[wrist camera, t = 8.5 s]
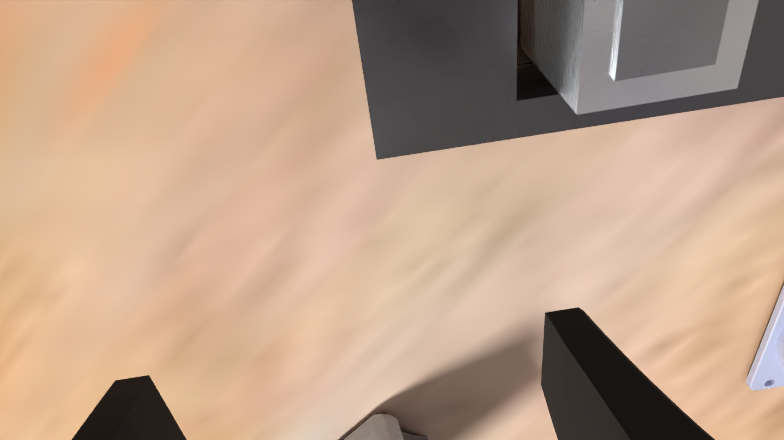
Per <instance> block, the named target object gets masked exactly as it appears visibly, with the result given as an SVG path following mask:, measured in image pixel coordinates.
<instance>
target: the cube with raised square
mask: <svg viewBox="0 0 784 440" xmlns="http://www.w3.org/2000/svg"><path fill="white" fill-rule="evenodd" d="M758 1H759V0H521V27H520V47H521V48H522V49H523V51H524V52H525V53H526V54H527V55H528V57H529V58H530V59H531V60H532V61H533V63H534V64H535V65H536V66H537V67H538V69H539V70H540V71H541V72H542V73H543V75H544V76H545V77H546V78H547V79H548V81H549V82H550V83H551V84H552V85H553V87H554V88H555V89H556V90H557V91H558V93H559V94H560V95H561V96H562V97H563V99H564V100H565V101H566V102H567V103H568V105H569V106H570V107H571V108H572V109H573V111H574V112H575V113H576V114H577V115H579V114H585V113H591V112H597V111H603V110H609V109H615V108H621V107H627V106H633V105H639V104H646V103H652V102H658V101H664V100H670V99H676V98H682V97H688V96H694V95H700V94H706V93H712V92H718V91H724V90H730V89H736V88H737V87H738V83H739V79H740V75H741V71H742V67H743V63H744V59H745V55H746V51H747V46H748V42H749V38H750V34H751V30H752V26H753V22H754V18H755V14H756V10H757V5H758Z"/></svg>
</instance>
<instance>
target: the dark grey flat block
mask: <svg viewBox="0 0 784 440" xmlns="http://www.w3.org/2000/svg"><path fill="white" fill-rule="evenodd" d="M352 3H353V10H354V16H355V22H356V29H357V35H358V42H359V48H360V54H361V61H362V67H363V74H364V80H365V87H366V93H367V99H368V106H369V112H370V119H371V125H372V131H373V138H374V144H375V151H376V157H377V160H378V159H384V158H391V157H397V156H403V155H410V154H416V153H423V152H429V151H436V150H442V149H449V148H455V147H462V146H468V145H475V144H481V143H488V142H494V141H500V140H507V139H513V138H520V137H526V136H533V135H539V134H546V133H552V132H559V131H565V130H572V129H578V128H584V127H591V126H597V125H604V124H610V123H617V122H623V121H630V120H636V119H643V118H649V117H656V116H662V115H668V114H675V113H681V112H688V111H694V110H701V109H707V108H714V107H720V106H727V105H733V104H740V103H746V102H753V101H759V100H765V99H772V98H778V97H784V0H759V1H758V5H757V10H756V14H755V18H754V22H753V26H752V30H751V34H750V38H749V42H748V46H747V51H746V55H745V59H744V63H743V67H742V71H741V75H740V79H739V83H738V87H737V88H736V89H730V90H724V91H718V92H712V93H706V94H700V95H694V96H688V97H682V98H676V99H670V100H664V101H658V102H652V103H646V104H639V105H633V106H627V107H621V108H615V109H609V110H603V111H597V112H591V113H585V114H579V115H577V114H576V113H575V112H574V111H573V109H572V108H571V107H570V106H569V105H568V103H567V102H566V101H565V100H564V99H563V97H562V96H561V95H560V94H559V93H558V91H557V90H556V89H555V88H554V87H553V85H552V84H551V83H550V82H549V81H548V79H547V78H546V77H545V76H544V75H543V73H542V72H541V71H540V70H539V69H538V67H537V66H536V65H535V64H534V63H530V64H524V65H517V8H518V0H352Z"/></svg>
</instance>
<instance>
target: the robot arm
mask: <svg viewBox="0 0 784 440" xmlns="http://www.w3.org/2000/svg"><path fill="white" fill-rule="evenodd" d="M746 384H747V385H748V386H749V388H750V389H752V390H761V389H768V388H774V387H780V386H784V286H783V288H782V291H781V293H780V296H779V298H778V301H777V303H776V306H775V308H774V311H773V314H772V316H771V319H770V321H769V324H768V326H767V329H766V331H765V334H764V336H763V339H762V341H761V344H760V347H759V349H758V352H757V354H756V357H755V359H754V362H753V364H752V367H751V369H750V372H749V375H748V377H747V380H746ZM541 386H542V389H543V392H544V396H545V399H546V403H547V406H548V409H549V413H550V416H551V419H552V422H553V425H554V429H555V432H556V435H557V438H558V440H715V439H713V438H712V437H711V436H710V435H709V434H708V433H707V432H705V431H704V430H703V429H702V428H701V427H700V426H699V425H697V424H696V423H695V422H694V421H693V420H692V419H691V418H690V417H689V416H688V415H686V414H685V413H684V412H683V411H682V410H681V409H680V408H679V407H678V406H677V405H676V404H675V403H674V402H672V401H671V400H670V399H669V398H668V397H667V396H666V395H665V394H664V393H663V392H662V391H661V390H660V389H659V388H658V387H657V386H656V385H655V384H654V383H652V382H651V381H650V380H649V379H648V378H647V377H646V376H645V375H644V374H643V373H642V372H641V371H640V370H639V369H638V368H637V367H636V366H635V365H634V364H633V363H632V362H631V361H630V360H629V359H628V358H627V357H626V356H625V355H624V354H623V353H622V351H621V350H620V349H619V348H618V347H617V346H616V345H615V344H614V343H613V342H612V341H611V340H610V339H609V338H608V337H607V336H606V335H605V334H604V333H603V331H602V330H601V329H600V328H599V327H598V326H597V325H596V324H595V323H594V322H593V321H592V320H591V318H590V317H589V316H588V315H587V314H586V313H585V312H584V311H583V310H581V309H580V308H579V307H578V308H572V309H566V310H559V311H553V312H547V313H545V325H544V342H543V360H542V377H541ZM72 440H186V438H185V436H184V435H183V433H182V431H181V429H180V428H179V426H178V424H177V423H176V421H175V419H174V417H173V416H172V414H171V412H170V411H169V409H168V407H167V405H166V404H165V402H164V400H163V399H162V397H161V395H160V393H159V392H158V390H157V388H156V386H155V385H154V383H153V381H152V380H151V378H150V376H149V375H147V376H141V377H135V378H128V379H122V380H116V381H115V382H114V383H113V384H112V386H111V387H110V388H109V390H108V391H107V392H106V394H105V395H104V396H103V398H102V399H101V400H100V402H99V403H98V404H97V406H96V407H95V408H94V410H93V411H92V413H91V414H90V415H89V417H88V418H87V419H86V421H85V422H84V423H83V425H82V426H81V428H80V429H79V430H78V432H77V433H76V434H75V436H74V437H73V439H72Z"/></svg>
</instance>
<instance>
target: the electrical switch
mask: <svg viewBox="0 0 784 440" xmlns="http://www.w3.org/2000/svg"><path fill="white" fill-rule="evenodd" d="M344 440H428V439H427V437H426V436H422V435H410V434H408V433H405V432H401V429H400V426H399V423H398V420H397V419H396V418H395V417H393V416H392V415H390V414H376V415H372V416H371V417H370V418H369V419H368V420H366V421H365V422H364V423H363V424H362V425H360V426H359V427H358V428H357V429H356V430H355V431H353V432H352V433H351V434H350V435H349V436H347V437H346V438H345V439H344Z"/></svg>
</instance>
